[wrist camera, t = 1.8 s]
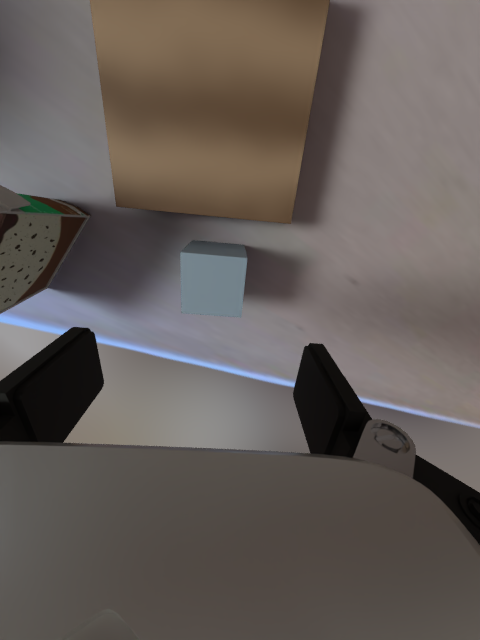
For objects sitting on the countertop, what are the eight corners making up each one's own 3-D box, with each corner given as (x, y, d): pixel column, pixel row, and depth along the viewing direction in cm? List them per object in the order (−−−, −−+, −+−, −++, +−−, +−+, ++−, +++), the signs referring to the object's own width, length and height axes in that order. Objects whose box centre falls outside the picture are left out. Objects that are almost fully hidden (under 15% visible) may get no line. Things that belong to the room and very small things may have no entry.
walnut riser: (105, -38, 15) (78, -89, 12) (319, -2, 16) (337, -43, 13) (131, 205, 21) (116, 206, 19) (283, 220, 22) (290, 223, 20)
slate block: (192, 240, 23) (180, 252, 18) (243, 244, 23) (247, 258, 18) (192, 289, 25) (181, 313, 20) (239, 292, 25) (241, 317, 20)
